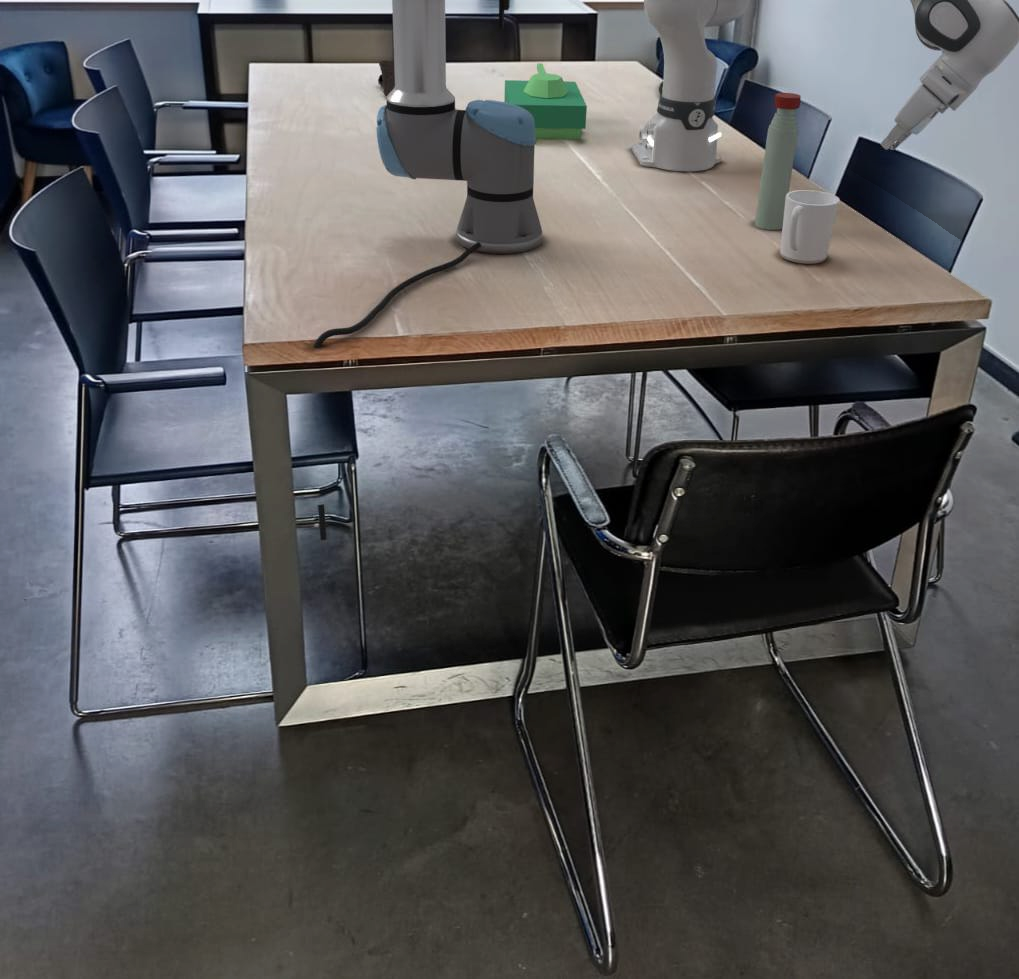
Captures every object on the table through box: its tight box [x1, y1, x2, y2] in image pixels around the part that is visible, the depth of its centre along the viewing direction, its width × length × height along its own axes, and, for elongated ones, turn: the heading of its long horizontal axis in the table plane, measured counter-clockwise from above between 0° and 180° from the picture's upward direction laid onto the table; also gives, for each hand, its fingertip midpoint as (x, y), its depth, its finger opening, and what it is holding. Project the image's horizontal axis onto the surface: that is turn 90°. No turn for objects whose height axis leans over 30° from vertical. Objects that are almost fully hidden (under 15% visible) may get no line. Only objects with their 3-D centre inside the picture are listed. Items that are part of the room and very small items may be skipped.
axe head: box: [377, 59, 395, 97], centre depth 299 cm, size 18×8×15 cm
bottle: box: [754, 108, 799, 231], centre depth 200 cm, size 5×5×23 cm
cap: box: [773, 92, 802, 110], centre depth 194 cm, size 4×4×2 cm
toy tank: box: [503, 63, 588, 141], centre depth 266 cm, size 18×12×35 cm
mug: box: [779, 189, 841, 265], centre depth 188 cm, size 11×9×10 cm
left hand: (468, 26), depth 224 cm, fingers open, 13 cm apart
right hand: (886, 147), depth 206 cm, fingers open, 8 cm apart
